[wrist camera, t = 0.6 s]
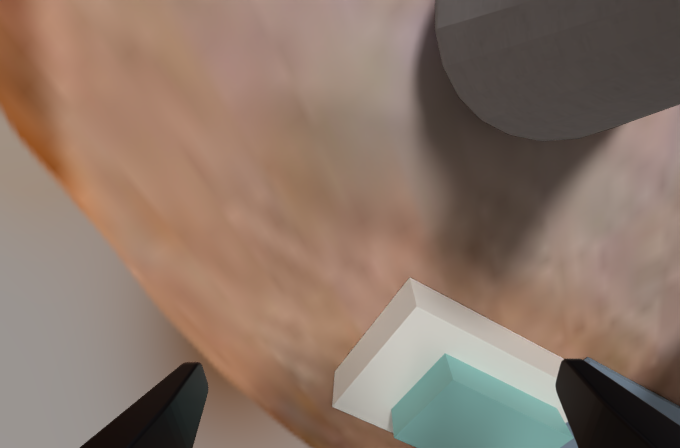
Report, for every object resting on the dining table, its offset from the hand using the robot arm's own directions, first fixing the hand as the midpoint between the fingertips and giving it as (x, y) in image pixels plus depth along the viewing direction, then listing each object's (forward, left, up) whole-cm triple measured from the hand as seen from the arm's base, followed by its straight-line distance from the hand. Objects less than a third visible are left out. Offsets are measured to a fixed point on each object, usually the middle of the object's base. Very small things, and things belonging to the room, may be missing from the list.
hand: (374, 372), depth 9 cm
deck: (-12, +8, -13) cm, 20 cm away
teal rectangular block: (-13, +8, -10) cm, 19 cm away
